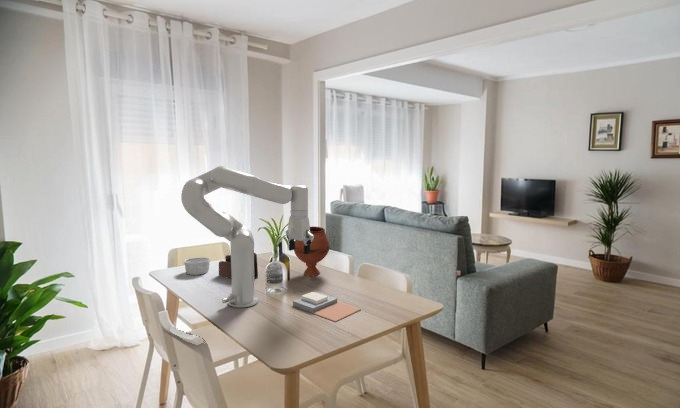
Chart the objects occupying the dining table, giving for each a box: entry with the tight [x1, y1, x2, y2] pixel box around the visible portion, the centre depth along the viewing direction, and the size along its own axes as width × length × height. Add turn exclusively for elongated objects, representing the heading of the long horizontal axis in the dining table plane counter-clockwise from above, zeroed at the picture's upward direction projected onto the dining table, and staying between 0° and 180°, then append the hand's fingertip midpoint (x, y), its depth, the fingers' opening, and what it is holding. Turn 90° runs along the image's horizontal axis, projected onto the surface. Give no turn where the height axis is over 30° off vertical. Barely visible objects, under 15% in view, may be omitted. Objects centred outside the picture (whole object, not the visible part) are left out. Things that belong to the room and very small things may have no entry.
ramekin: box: [183, 256, 211, 276], centre depth 211 cm, size 13×13×7 cm
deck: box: [292, 291, 338, 314], centre depth 166 cm, size 15×12×2 cm
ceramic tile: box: [300, 291, 329, 304], centre depth 166 cm, size 7×9×2 cm
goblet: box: [293, 226, 330, 277], centre depth 209 cm, size 19×19×25 cm
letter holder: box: [218, 252, 259, 280], centre depth 203 cm, size 10×20×14 cm, turn 55°
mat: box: [312, 301, 362, 323], centre depth 158 cm, size 16×12×1 cm
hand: (299, 251), depth 171 cm, fingers open, 9 cm apart
